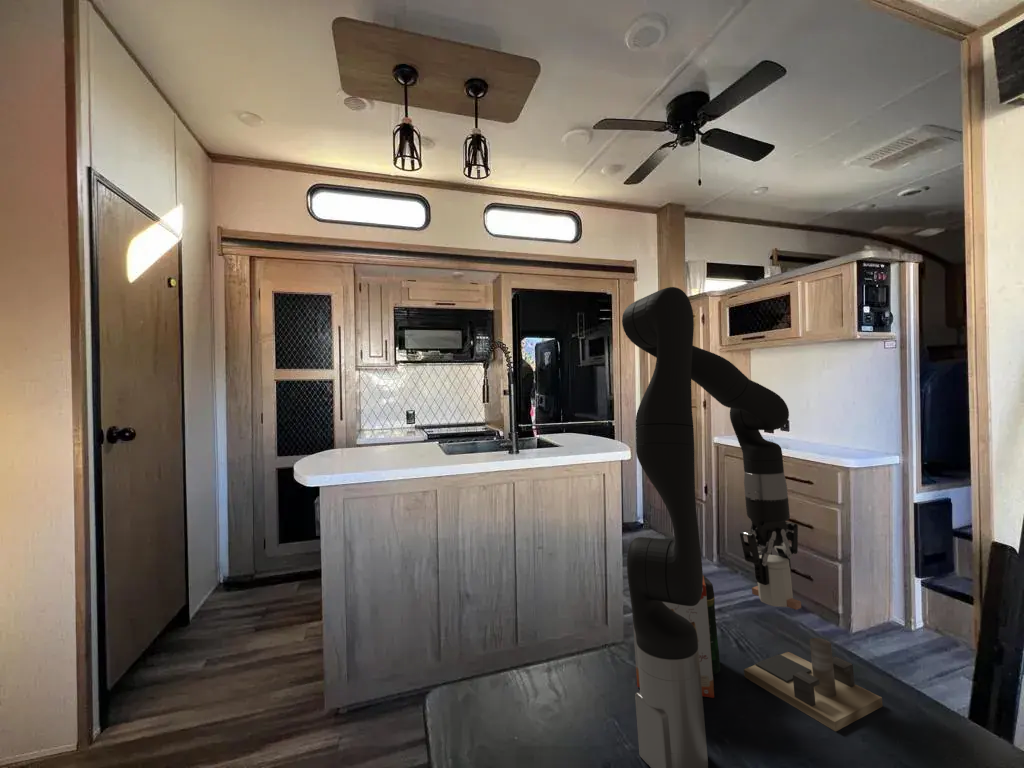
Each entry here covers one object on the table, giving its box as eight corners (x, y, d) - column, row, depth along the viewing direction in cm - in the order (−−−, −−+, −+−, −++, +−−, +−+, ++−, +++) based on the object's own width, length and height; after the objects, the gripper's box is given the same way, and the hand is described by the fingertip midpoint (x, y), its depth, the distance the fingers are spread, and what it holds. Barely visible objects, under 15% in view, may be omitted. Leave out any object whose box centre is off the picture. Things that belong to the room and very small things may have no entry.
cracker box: (637, 689, 86) (628, 579, 88) (638, 671, 92) (630, 568, 93) (716, 700, 82) (706, 583, 83) (712, 681, 87) (703, 572, 89)
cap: (745, 596, 91) (741, 556, 92) (763, 589, 94) (760, 550, 94) (789, 612, 83) (785, 568, 84) (808, 604, 86) (803, 562, 86)
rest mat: (787, 683, 83) (786, 680, 83) (755, 665, 89) (755, 663, 89) (811, 672, 86) (811, 670, 86) (779, 655, 92) (779, 653, 92)
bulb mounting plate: (835, 731, 72) (829, 667, 73) (744, 677, 88) (739, 625, 89) (882, 706, 78) (876, 646, 78) (788, 659, 93) (784, 609, 94)
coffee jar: (726, 678, 88) (718, 582, 89) (685, 679, 89) (677, 583, 90) (709, 652, 98) (701, 565, 99) (672, 652, 98) (665, 566, 99)
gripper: (773, 487, 96) (780, 567, 95) (724, 496, 90) (731, 581, 89) (808, 492, 89) (816, 578, 88) (757, 502, 83) (766, 594, 82)
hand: (774, 579), depth 89 cm, fingers closed on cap, 5 cm apart
